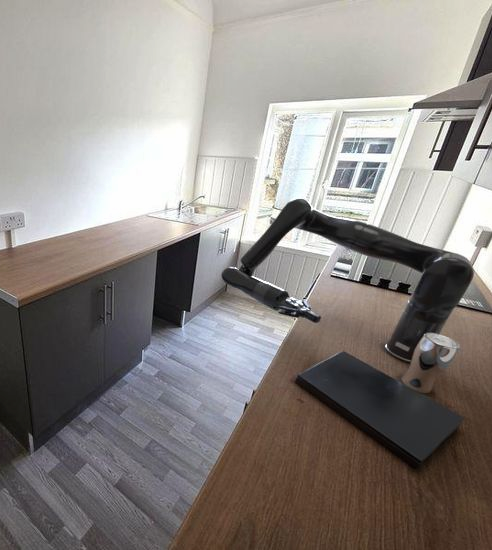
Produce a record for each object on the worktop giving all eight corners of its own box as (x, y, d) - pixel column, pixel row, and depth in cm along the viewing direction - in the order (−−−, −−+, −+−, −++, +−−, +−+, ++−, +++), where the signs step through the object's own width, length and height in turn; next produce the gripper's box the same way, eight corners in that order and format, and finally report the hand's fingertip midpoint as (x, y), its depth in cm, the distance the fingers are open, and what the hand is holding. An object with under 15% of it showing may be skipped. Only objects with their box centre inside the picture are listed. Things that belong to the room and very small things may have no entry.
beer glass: (425, 398, 76) (454, 351, 70) (394, 380, 82) (418, 335, 76) (437, 389, 80) (465, 344, 74) (405, 373, 85) (429, 329, 79)
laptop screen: (342, 352, 87) (343, 350, 87) (463, 420, 67) (465, 417, 66) (296, 377, 79) (297, 374, 78) (419, 464, 58) (421, 461, 57)
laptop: (338, 361, 89) (341, 355, 88) (456, 430, 68) (460, 424, 67) (294, 382, 79) (296, 376, 79) (415, 469, 58) (420, 463, 58)
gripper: (259, 288, 98) (309, 313, 84) (284, 282, 104) (335, 304, 90) (254, 308, 101) (301, 335, 87) (279, 301, 107) (327, 325, 93)
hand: (318, 319), depth 89 cm, fingers closed
